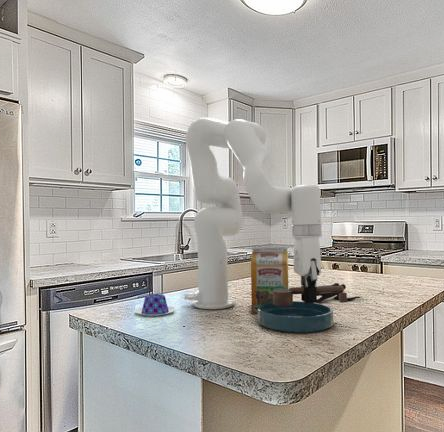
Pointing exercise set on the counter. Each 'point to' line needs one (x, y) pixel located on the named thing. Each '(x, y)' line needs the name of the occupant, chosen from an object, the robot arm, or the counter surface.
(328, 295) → the dark humanoid figurine
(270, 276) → the milk carton
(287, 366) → the counter surface
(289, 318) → the bowl
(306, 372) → the counter surface
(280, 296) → the ladle
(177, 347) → the counter surface
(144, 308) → the pudding
